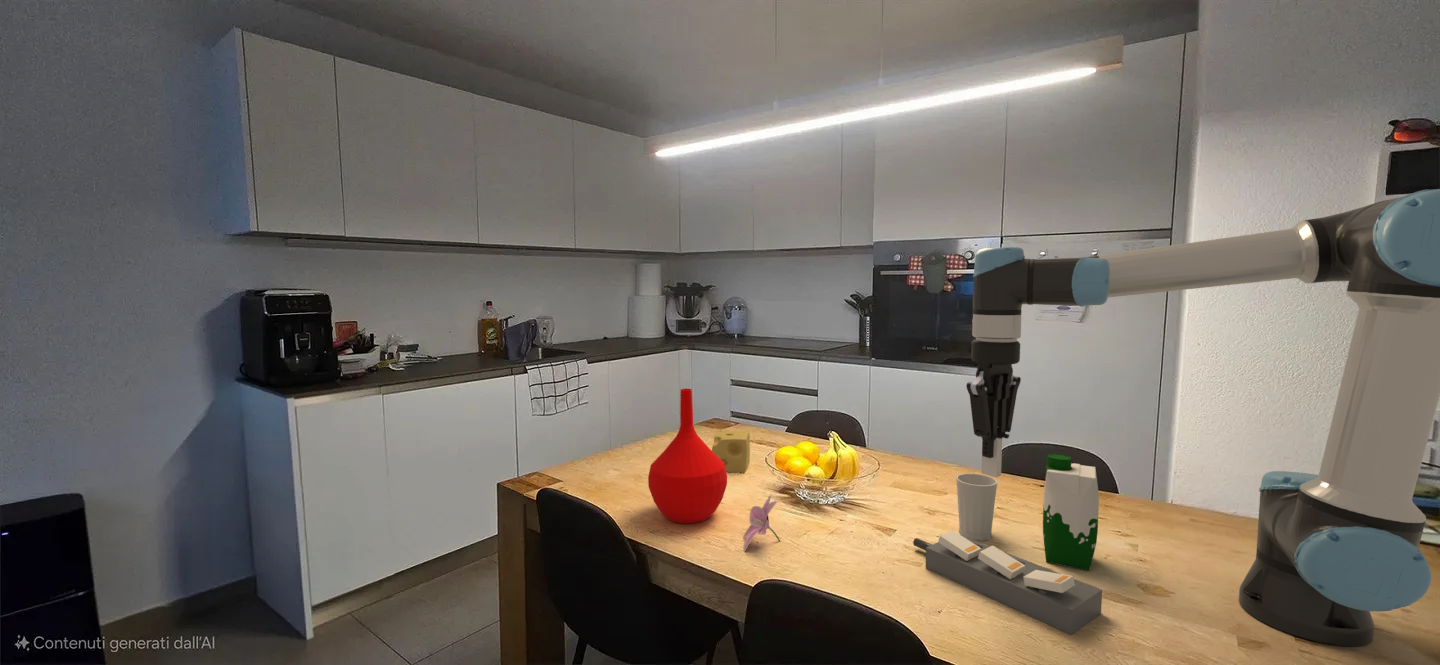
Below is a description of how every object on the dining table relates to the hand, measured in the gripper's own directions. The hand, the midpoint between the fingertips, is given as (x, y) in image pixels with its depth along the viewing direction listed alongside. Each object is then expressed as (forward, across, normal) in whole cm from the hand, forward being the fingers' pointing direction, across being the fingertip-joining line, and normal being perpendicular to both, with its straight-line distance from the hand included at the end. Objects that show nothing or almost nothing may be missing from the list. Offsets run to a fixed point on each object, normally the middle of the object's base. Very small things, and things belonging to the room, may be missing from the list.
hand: (991, 474), depth 102 cm
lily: (+21, +21, -38) cm, 48 cm away
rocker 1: (+15, 0, -6) cm, 16 cm away
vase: (+21, +26, -59) cm, 67 cm away
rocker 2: (+15, 0, +2) cm, 15 cm away
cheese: (+21, -3, -82) cm, 84 cm away
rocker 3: (+15, 0, +10) cm, 18 cm away
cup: (+21, -18, -14) cm, 31 cm away
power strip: (+20, -2, -1) cm, 21 cm away
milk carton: (+21, -22, +3) cm, 30 cm away
